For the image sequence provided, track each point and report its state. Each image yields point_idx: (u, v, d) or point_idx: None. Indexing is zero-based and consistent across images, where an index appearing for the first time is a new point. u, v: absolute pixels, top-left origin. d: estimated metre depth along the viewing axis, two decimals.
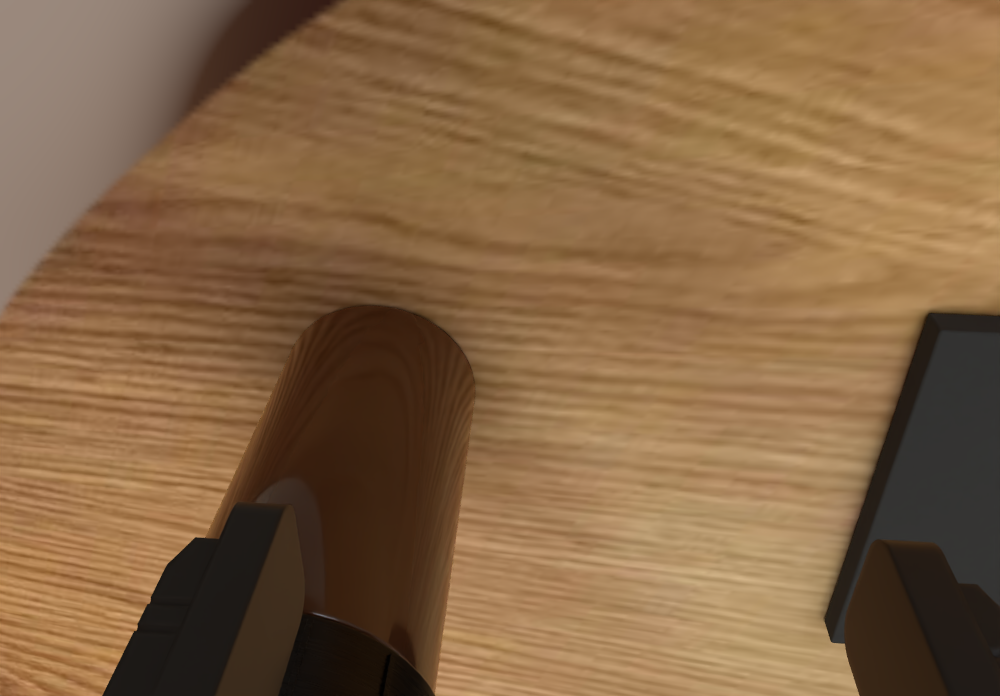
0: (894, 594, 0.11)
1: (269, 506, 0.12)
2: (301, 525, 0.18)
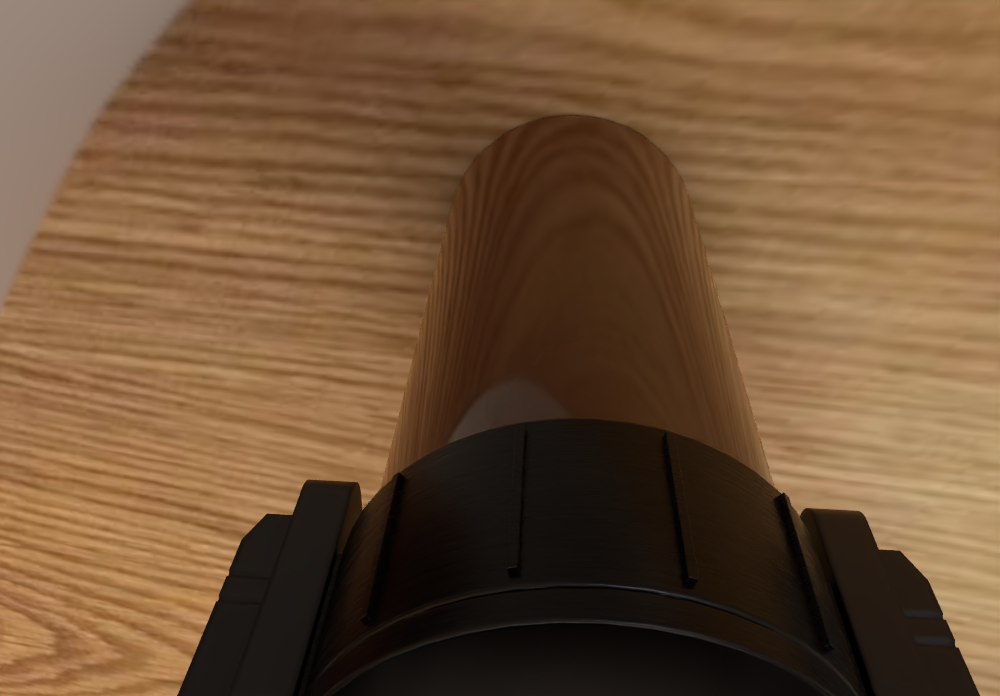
0: None
1: (338, 483, 0.12)
2: (589, 327, 0.12)
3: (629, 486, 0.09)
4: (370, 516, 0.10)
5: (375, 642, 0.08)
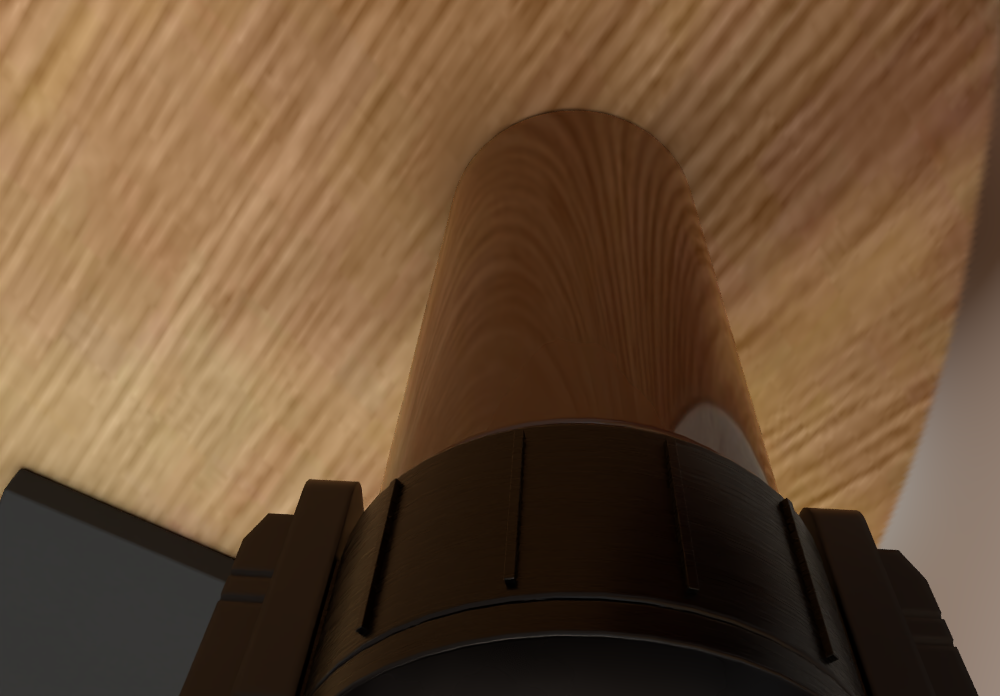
0: None
1: (339, 483, 0.12)
2: None
3: (629, 494, 0.09)
4: (367, 523, 0.10)
5: (371, 654, 0.08)
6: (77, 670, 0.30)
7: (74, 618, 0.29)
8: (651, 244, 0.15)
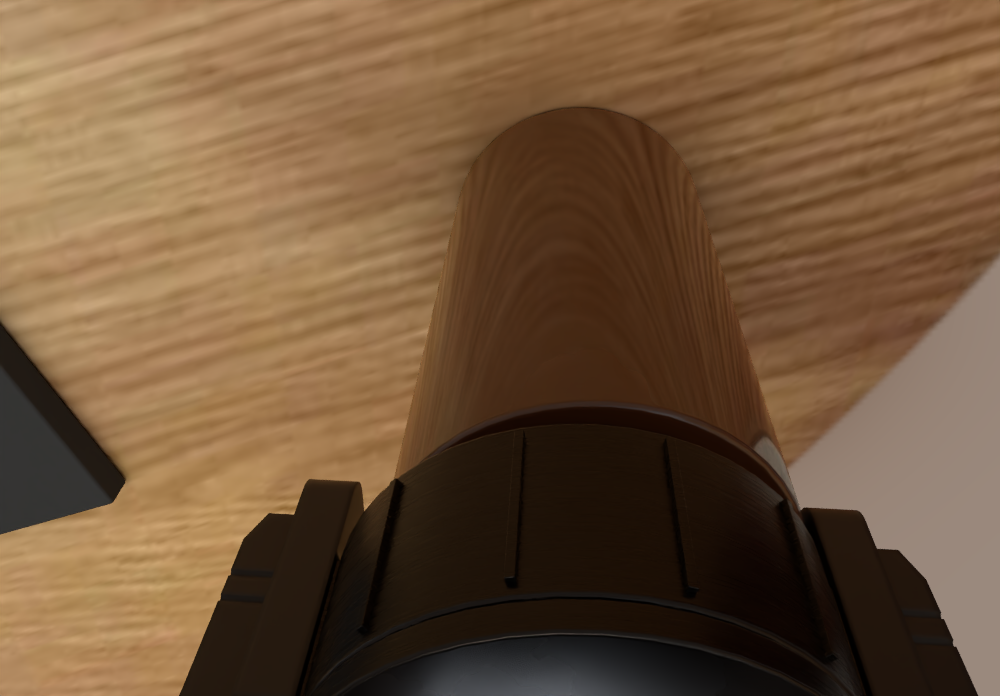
0: None
1: (339, 483, 0.12)
2: None
3: (628, 494, 0.09)
4: (367, 523, 0.10)
5: (371, 653, 0.08)
6: None
7: None
8: (732, 304, 0.15)
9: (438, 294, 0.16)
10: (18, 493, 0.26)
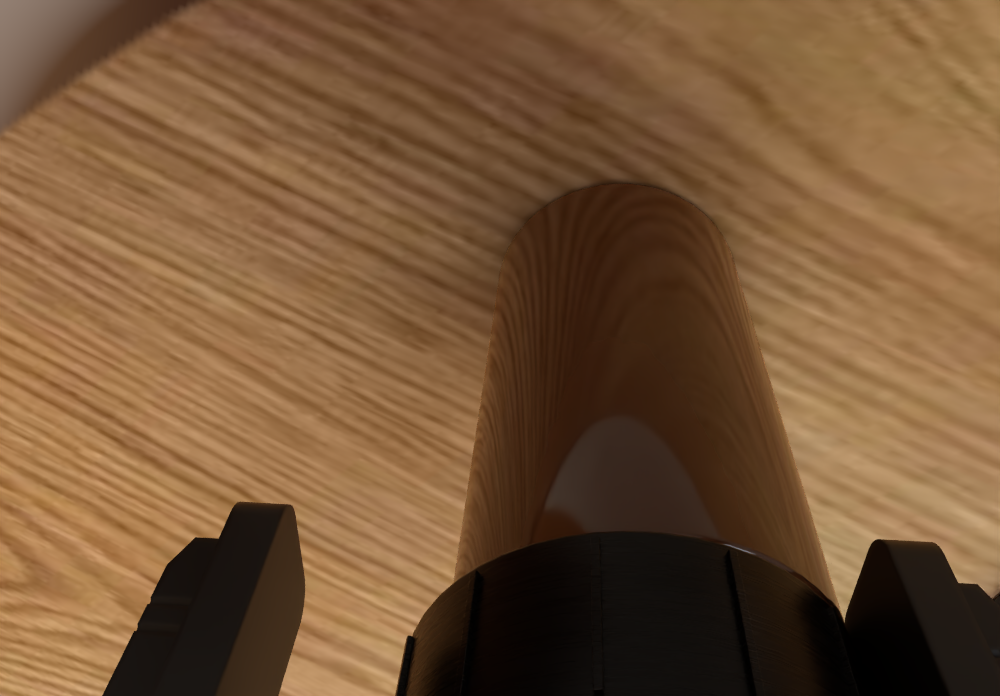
0: (894, 594, 0.11)
1: (269, 506, 0.12)
2: (734, 445, 0.13)
3: None
4: None
5: None
6: None
7: None
8: (481, 408, 0.17)
9: None
10: None
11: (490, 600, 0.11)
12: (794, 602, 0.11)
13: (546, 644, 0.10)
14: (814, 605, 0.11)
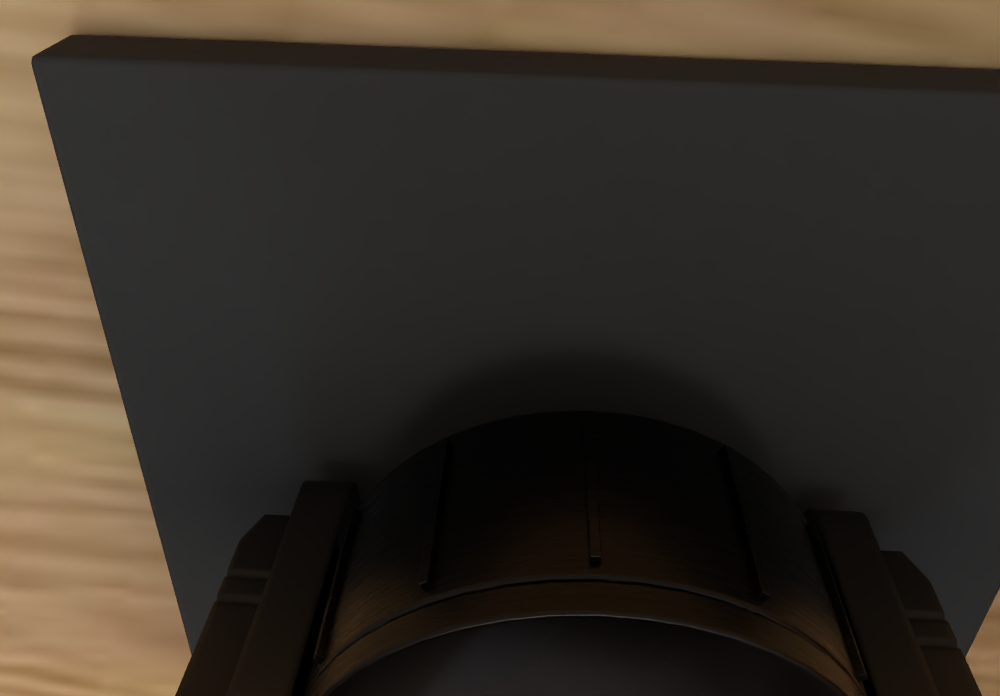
0: None
1: (336, 484, 0.12)
2: None
3: None
4: None
5: None
6: (537, 396, 0.12)
7: (749, 351, 0.11)
8: None
9: None
10: None
11: (359, 532, 0.10)
12: (670, 450, 0.10)
13: (391, 555, 0.09)
14: (698, 447, 0.10)
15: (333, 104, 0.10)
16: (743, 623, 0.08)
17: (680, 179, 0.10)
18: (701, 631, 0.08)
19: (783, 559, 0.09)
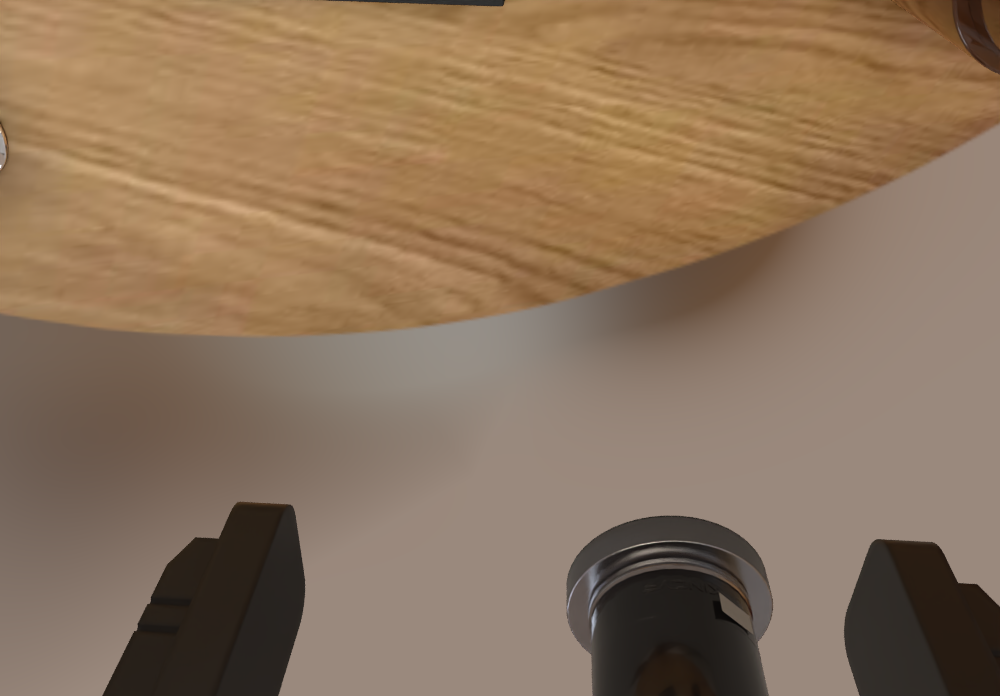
0: (894, 594, 0.11)
1: (269, 506, 0.12)
2: None
3: None
4: None
5: None
6: None
7: None
8: None
9: None
10: None
11: None
12: None
13: None
14: None
15: None
16: None
17: None
18: None
19: None
